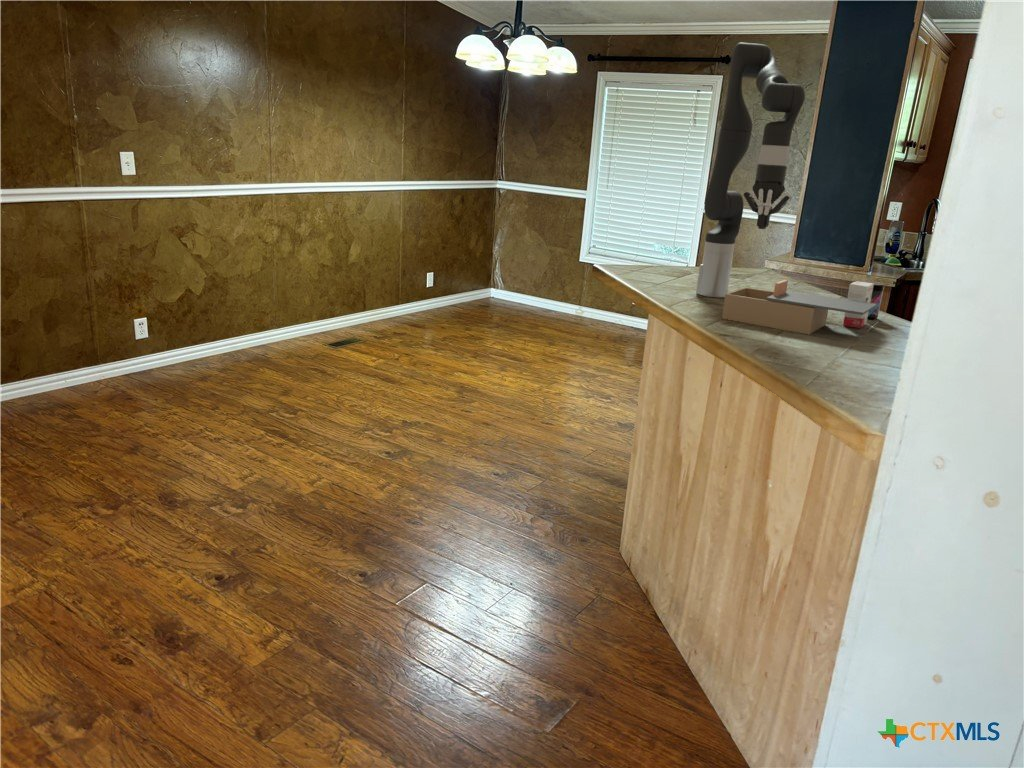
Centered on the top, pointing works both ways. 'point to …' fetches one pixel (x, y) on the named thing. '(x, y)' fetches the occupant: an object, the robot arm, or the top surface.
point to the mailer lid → (818, 300)
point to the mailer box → (771, 311)
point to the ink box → (858, 293)
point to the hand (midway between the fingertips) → (762, 228)
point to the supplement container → (875, 299)
